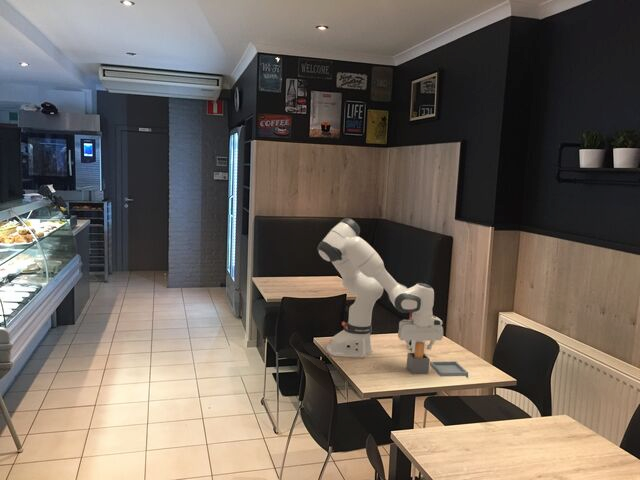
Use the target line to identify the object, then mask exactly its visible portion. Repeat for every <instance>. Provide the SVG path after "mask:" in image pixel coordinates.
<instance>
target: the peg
mask: <svg viewBox="0 0 640 480" xmlns="http://www.w3.org/2000/svg"><path fill="white" fill-rule="evenodd" d="M424 345H425V346H426V342H425V343H424V342H420V341H417V342H416V343H415V353H414V358H423V354H425V348H424Z"/></svg>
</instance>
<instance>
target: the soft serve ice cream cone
mask: <svg viewBox="0 0 640 480" xmlns="http://www.w3.org/2000/svg"><path fill="white" fill-rule="evenodd" d="M417 341H420V342H424V343H425V345H424V349H425V348H426V341H427V340H412V341H411V343H412V344H411V346H412V350H411V353H415V343H416V342H417Z"/></svg>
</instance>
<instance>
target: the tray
mask: <svg viewBox="0 0 640 480" xmlns="http://www.w3.org/2000/svg"><path fill="white" fill-rule="evenodd" d="M429 367H431V368H432V369H433V370H434V371H435V372H436V373H437V374H438V375H439V376H440V377H466V378H467V379H468V378H469V372H468V371H467V370H466V369H465V368H464V367H463V366H462V365H461V364H460V363H458V362H457V361H455V360H454V361H453V360H452V361H430V362H429Z"/></svg>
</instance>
